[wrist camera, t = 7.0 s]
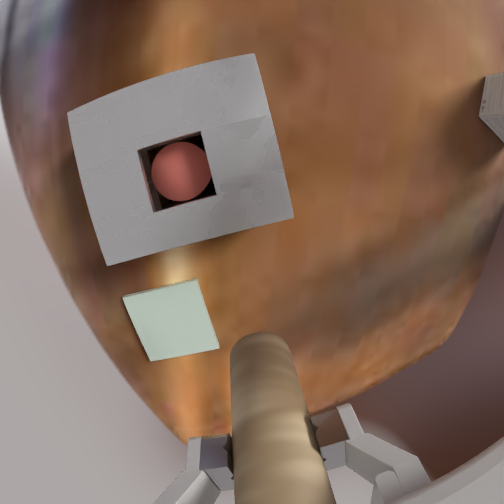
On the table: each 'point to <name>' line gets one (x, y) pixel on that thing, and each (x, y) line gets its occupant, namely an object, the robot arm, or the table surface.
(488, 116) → the supplement box
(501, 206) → the table surface
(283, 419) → the dowel
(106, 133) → the box
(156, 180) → the button
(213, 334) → the coaster
